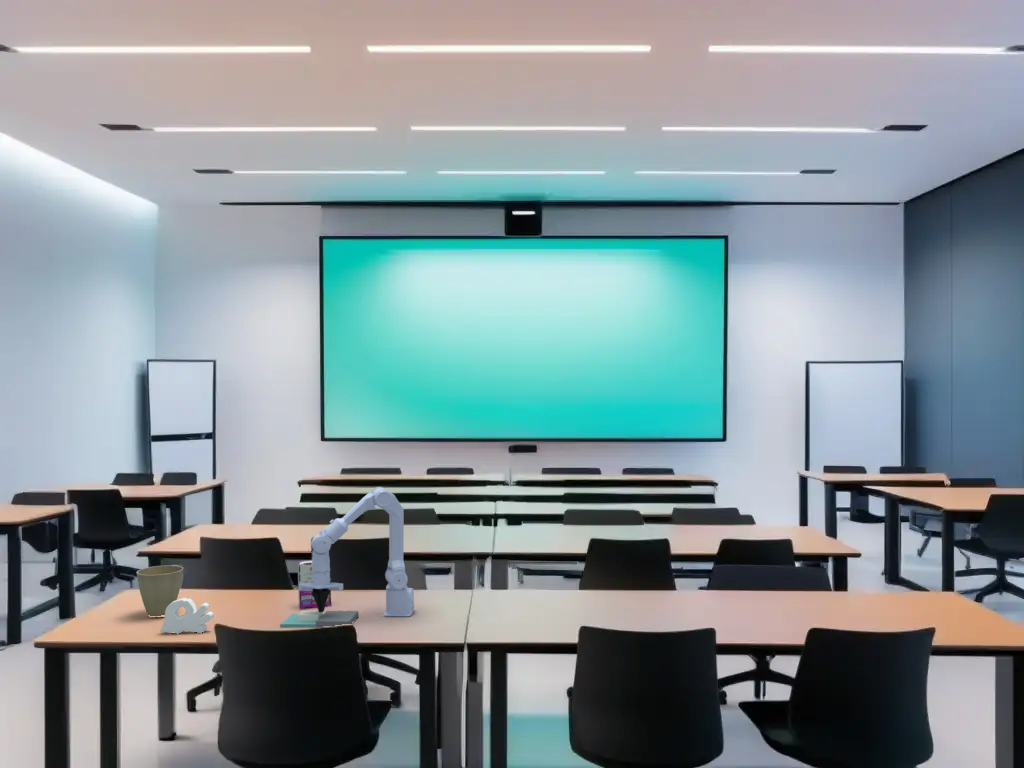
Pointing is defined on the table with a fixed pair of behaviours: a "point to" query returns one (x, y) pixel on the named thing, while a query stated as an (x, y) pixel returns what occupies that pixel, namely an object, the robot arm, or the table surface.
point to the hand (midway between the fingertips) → (321, 611)
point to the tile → (309, 615)
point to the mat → (297, 622)
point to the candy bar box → (306, 595)
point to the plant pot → (159, 587)
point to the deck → (336, 618)
